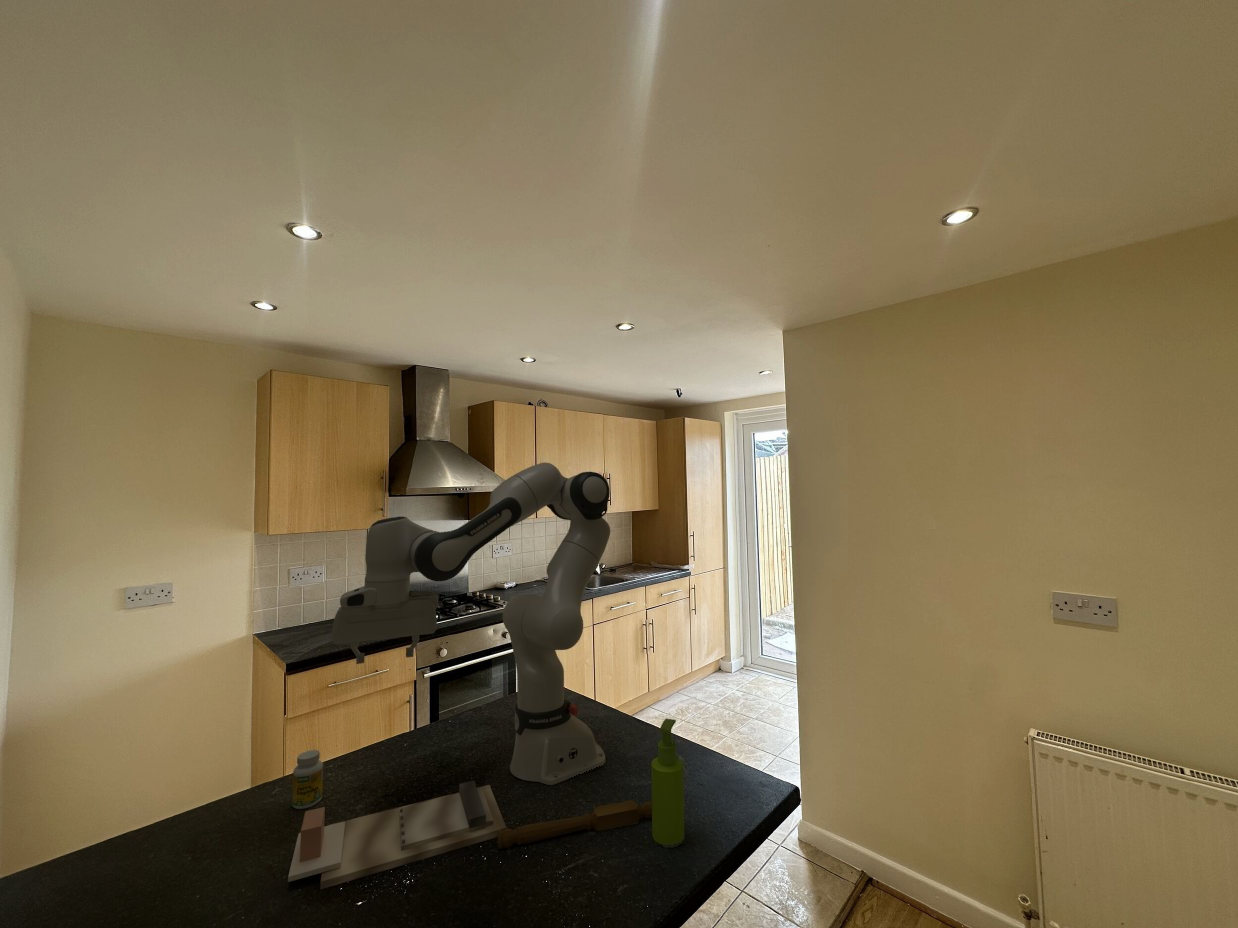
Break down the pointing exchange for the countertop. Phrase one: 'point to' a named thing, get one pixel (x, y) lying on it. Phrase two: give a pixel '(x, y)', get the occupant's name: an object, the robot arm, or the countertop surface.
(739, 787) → the countertop surface
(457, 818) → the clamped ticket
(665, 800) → the soap dispenser
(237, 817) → the countertop surface
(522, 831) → the tap handle
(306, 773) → the supplement bottle
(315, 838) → the stub
